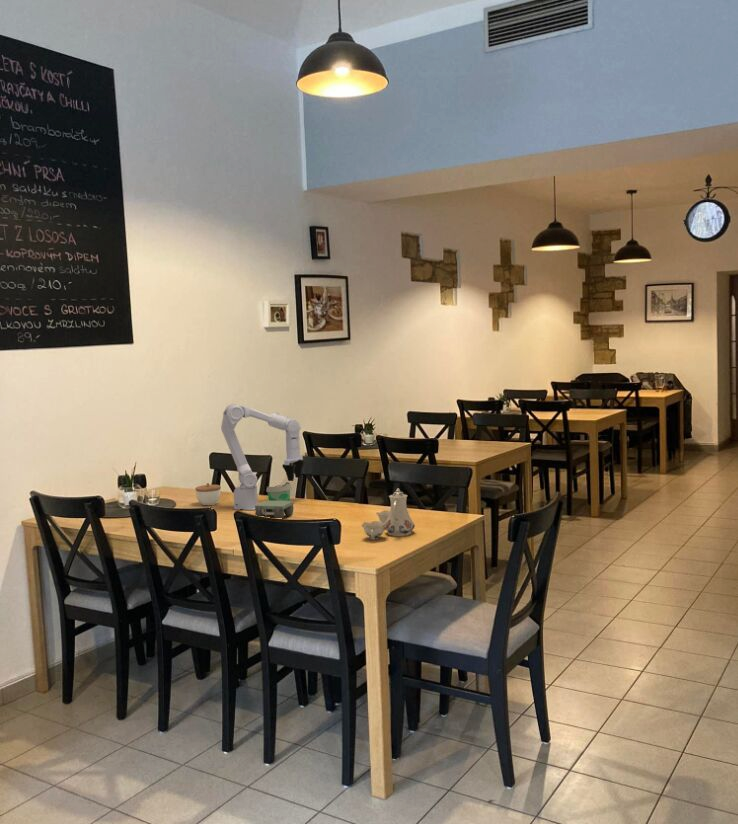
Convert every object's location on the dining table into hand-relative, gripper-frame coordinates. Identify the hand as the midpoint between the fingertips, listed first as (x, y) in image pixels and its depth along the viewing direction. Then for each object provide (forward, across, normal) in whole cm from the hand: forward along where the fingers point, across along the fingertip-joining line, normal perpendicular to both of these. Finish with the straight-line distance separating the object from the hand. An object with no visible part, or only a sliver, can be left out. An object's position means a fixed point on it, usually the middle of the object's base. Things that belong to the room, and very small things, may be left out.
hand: (294, 479), depth 345 cm
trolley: (+10, -28, -4) cm, 30 cm away
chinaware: (+11, -44, -56) cm, 72 cm away
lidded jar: (+11, -8, +38) cm, 40 cm away
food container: (+11, -11, +1) cm, 15 cm away
